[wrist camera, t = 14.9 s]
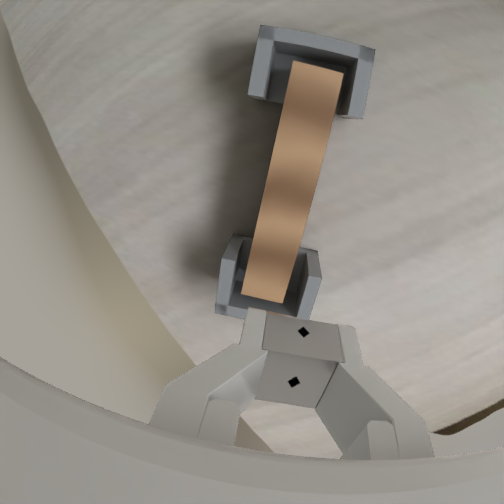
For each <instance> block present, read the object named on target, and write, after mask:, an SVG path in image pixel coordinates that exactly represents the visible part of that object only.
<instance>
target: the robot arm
mask: <svg viewBox="0 0 504 504" xmlns="http://www.w3.org/2000/svg"><path fill="white" fill-rule="evenodd" d="M254 399H257V400H263V401H270V402H277V403H284V404H290V405H296V406H302V407H308V408H315V411H316V412H317V414H318V415H319V417H320V418H321V420H322V422H323V423H324V425H325V426H326V428H327V430H328V431H329V433H330V434H331V436H332V437H333V439H334V441H335V442H336V444H337V445H338V447H339V448H340V450H341V452H342V453H343V455H342V456H341V458H340V459H327V458H314V457H303V456H294V455H285V454H278V453H270V452H263V451H258V450H252V449H246V448H240V447H235V446H234V444H235V438H236V432H237V427H238V422H239V416H240V413H241V412H243V411H244V410H245V409H246V408H247V407H248V406H249V405H250V404H251V403H252V402H253V401H254ZM0 504H504V446H503V447H499V448H494V449H489V450H483V451H477V452H471V453H464V454H457V455H450V456H441V457H435V456H434V452H433V449H432V445H431V441H430V437H429V434H428V430H427V426H426V423H425V420H424V419H423V418H422V417H421V416H420V415H419V414H418V413H417V412H415V411H414V410H413V409H412V408H411V407H410V406H409V405H408V404H407V403H406V402H405V401H404V400H403V399H402V398H401V397H400V396H399V395H398V394H397V393H396V392H395V391H394V390H393V389H392V388H391V387H390V386H389V385H388V384H387V383H386V382H385V381H384V380H383V379H381V378H380V377H379V376H378V375H377V374H376V373H375V372H374V371H373V370H372V369H371V368H370V367H369V366H364V363H363V359H362V354H361V350H360V346H359V342H358V337H357V333H356V329H355V328H354V327H353V326H347V325H339V324H330V323H324V322H318V321H312V320H306V319H302V318H298V317H293V316H288V315H284V314H279V313H274V312H270V311H267V312H266V310H261V309H256V308H251V307H248V309H247V313H246V317H245V321H244V326H243V330H242V334H241V338H240V343H239V345H238V344H232V345H231V346H229V347H227V348H226V349H224V350H223V351H221V352H219V353H218V354H216V355H214V356H213V357H211V358H210V359H208V360H206V361H205V362H203V363H201V364H200V365H198V366H196V367H195V368H193V369H191V370H190V371H188V372H186V373H184V374H183V375H181V376H179V377H178V378H176V379H174V380H172V381H171V382H169V383H168V384H166V386H165V388H164V390H163V393H162V395H161V397H160V399H159V402H158V404H157V406H156V409H155V411H154V413H153V415H152V418H151V420H150V422H149V424H146V423H143V422H140V421H137V420H134V419H131V418H129V417H125V416H123V415H120V414H117V413H115V412H112V411H110V410H107V409H104V408H102V407H99V406H97V405H94V404H92V403H90V402H87V401H85V400H82V399H80V398H78V397H76V396H74V395H71V394H69V393H67V392H65V391H62V390H60V389H58V388H56V387H54V386H52V385H50V384H48V383H46V382H44V381H42V380H40V379H38V378H36V377H35V376H33V375H31V374H29V373H27V372H25V371H23V370H22V369H20V368H18V367H16V366H15V365H13V364H11V363H9V362H8V361H6V360H4V359H3V358H1V357H0Z"/></svg>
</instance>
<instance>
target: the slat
mask: <svg viewBox="0 0 504 504" xmlns="http://www.w3.org/2000/svg"><path fill="white" fill-rule="evenodd" d="M343 74H344V73H340V72H337V71H333V70H329V69H326V68H322V67H318V66H314V65H310V64H306V63H302V62H297V61H293V64H292V69H291V73H290V78H289V82H288V86H287V91H286V95H285V100H284V104H283V109H282V113H281V117H280V122H279V126H278V131H277V135H276V140H275V144H274V149H273V153H272V157H271V162H270V166H269V171H268V175H267V180H266V184H265V189H264V193H263V198H262V202H261V206H260V211H259V215H258V220H257V224H256V229H255V233H254V238H253V242H252V247H251V251H250V256H249V260H248V264H247V269H246V273H245V278H244V282H243V287H242V291H241V294H243V295H248V296H252V297H256V298H260V299H265V300H269V301H273V302H278V303H283V300H284V297H285V293H286V290H287V287H288V284H289V280H290V277H291V273H292V270H293V267H294V263H295V260H296V257H297V253H298V250H299V246H300V243H301V239H302V236H303V232H304V229H305V225H306V221H307V218H308V214H309V211H310V207H311V203H312V200H313V196H314V192H315V189H316V185H317V181H318V177H319V173H320V170H321V166H322V162H323V158H324V154H325V150H326V146H327V142H328V138H329V134H330V130H331V126H332V122H333V118H334V113H335V109H336V105H337V101H338V96H339V92H340V88H341V83H342V79H343Z"/></svg>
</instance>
